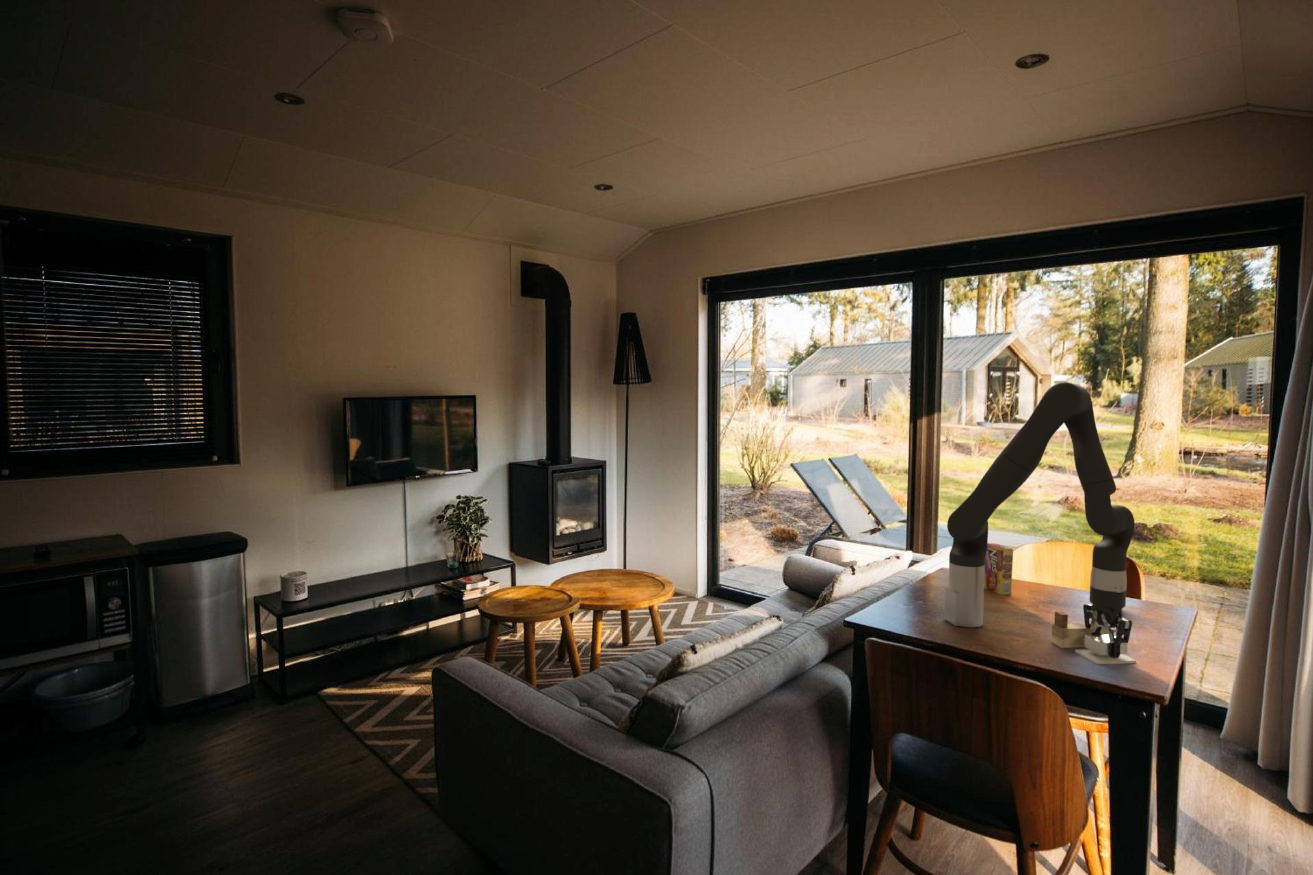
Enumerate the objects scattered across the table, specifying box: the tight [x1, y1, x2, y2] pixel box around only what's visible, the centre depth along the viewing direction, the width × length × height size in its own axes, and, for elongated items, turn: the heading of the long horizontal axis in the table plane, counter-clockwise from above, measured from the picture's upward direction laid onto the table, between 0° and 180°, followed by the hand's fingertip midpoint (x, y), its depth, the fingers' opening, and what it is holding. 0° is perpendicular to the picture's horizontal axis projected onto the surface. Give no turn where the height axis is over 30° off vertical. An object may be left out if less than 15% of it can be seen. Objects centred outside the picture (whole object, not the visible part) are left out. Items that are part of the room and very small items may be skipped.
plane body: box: [1051, 610, 1108, 649], centre depth 181 cm, size 13×4×8 cm, turn 95°
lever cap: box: [1083, 634, 1128, 655], centre depth 172 cm, size 7×6×3 cm
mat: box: [1074, 648, 1137, 665], centre depth 172 cm, size 10×8×1 cm
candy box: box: [984, 542, 1014, 596], centre depth 229 cm, size 9×4×15 cm, turn 13°
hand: (1105, 652), depth 172 cm, fingers closed on lever cap, 5 cm apart
